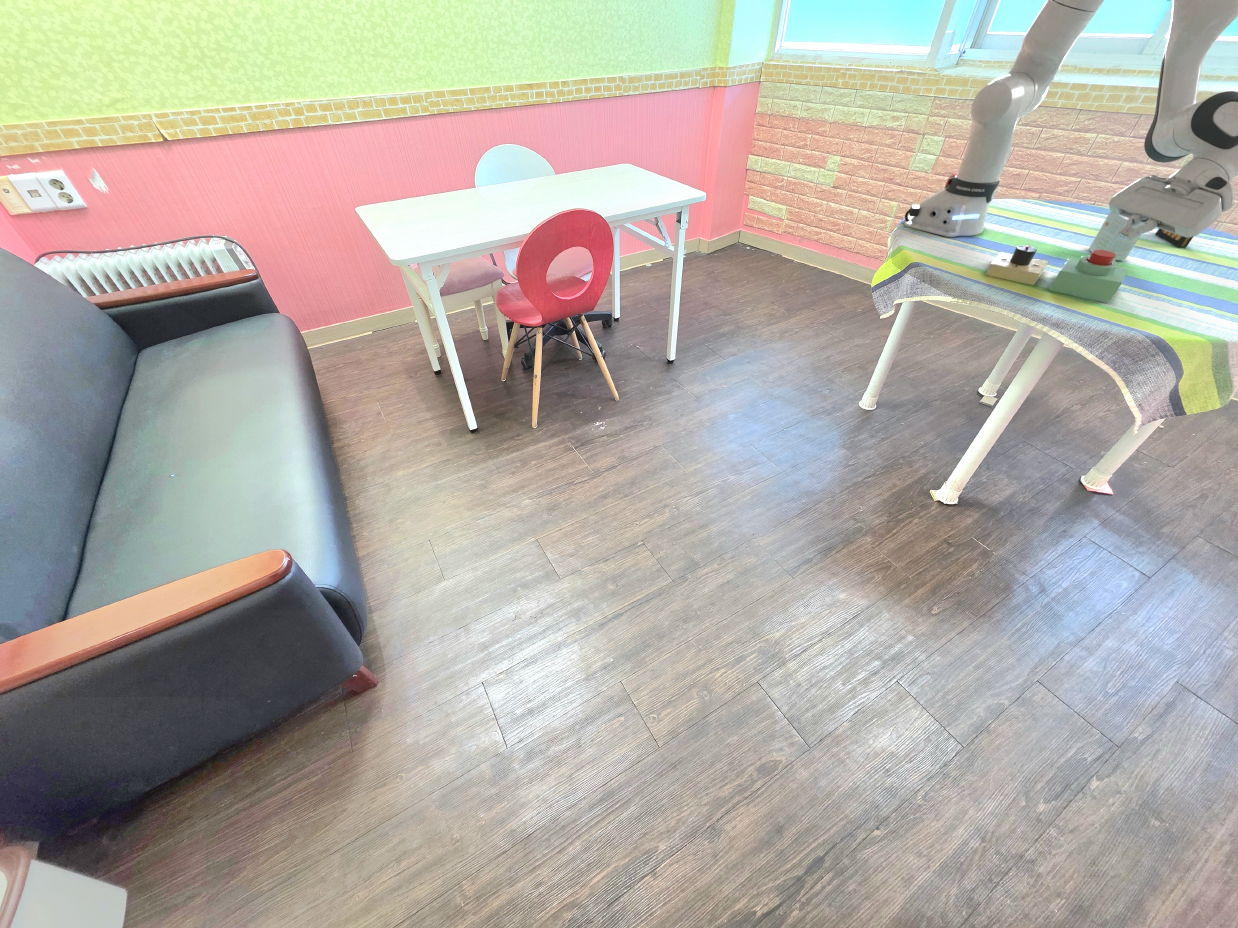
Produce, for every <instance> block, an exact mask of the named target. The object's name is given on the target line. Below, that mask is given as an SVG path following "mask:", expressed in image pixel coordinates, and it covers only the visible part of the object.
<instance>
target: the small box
mask: <svg viewBox="0 0 1238 928" xmlns="http://www.w3.org/2000/svg"><path fill="white" fill-rule="evenodd" d="M1128 220H1129V218H1127V217H1124V216H1121V215H1118V214H1115V213H1112V212H1111V211H1110V210H1109V213H1108V215H1107V216H1106V218H1105V219H1104V221H1103V223H1102V225H1101V227H1100V229H1099V230H1098V231H1097V233H1096V235H1095V237H1094V239H1093V241H1092V242H1091V244H1090V246H1089V247H1088V251H1089V252H1091V253H1092V252H1093V251H1094V250H1106V251H1110V252H1113V253H1115V254H1116V256H1115V258H1114V259H1113V260H1115V261H1125V260H1126V259H1127V258H1128V256H1129V255H1130V253H1131V252H1132V250H1133V248H1134V247H1135V246H1136V244H1137V242H1138V241H1139V239H1140V237H1141V236H1142V234H1140V235H1138V236H1136V237H1135V238H1133V239H1132V240H1128V239H1126V238H1123V237H1121V236H1119V235H1118V232H1119V231H1120V230H1121V229H1122V228H1123V227H1125V226H1126V223H1127V221H1128ZM1142 225H1145V223H1142V222H1140V223H1139V224H1138V225H1133V227H1132V228H1134V229H1135V228H1138V227H1140V226H1142Z"/></svg>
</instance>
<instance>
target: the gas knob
mask: <svg viewBox="0 0 1238 928" xmlns="http://www.w3.org/2000/svg"><path fill="white" fill-rule="evenodd" d="M1037 251H1038V249H1037V248H1036V247H1034V246H1031V245H1030V244H1026V245H1023V244H1022V245H1018V246H1017V245H1016V247H1015V250H1014V251H1013V253H1012V254H1013V256H1012V258H1011V260H1010V262H1011V263H1013V264H1016V265H1029V264H1030V262H1031V261H1032V259H1033V258H1034V257H1035V255H1036V253H1037Z"/></svg>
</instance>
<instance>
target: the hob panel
mask: <svg viewBox="0 0 1238 928" xmlns="http://www.w3.org/2000/svg"><path fill="white" fill-rule="evenodd" d="M1013 254H1014V253H1009V252H1003V251H1001V252H1000V253H999V254H998V255H997V256H996V257H995V258H994V259H993V261H992V262H991V263H990V264H989V267H988V269H987V271H986V273H985V276H990V277H994V278H999V279H1002V280H1008V281H1012V282H1017V283H1021V284H1026V285H1031V286H1034V285H1035V284H1036V283H1037V281H1038V280H1039V278H1040V277H1041V276H1042V274H1043V273H1044V271H1045V269H1046V267H1047V265H1048V263H1049V260H1046V259H1040V258H1039V259H1038V258H1034V257H1033V259H1032V261H1031V262H1030V264H1029V265H1016V264H1013V263H1011V262H1010V260H1011V258H1012V256H1013Z"/></svg>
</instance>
